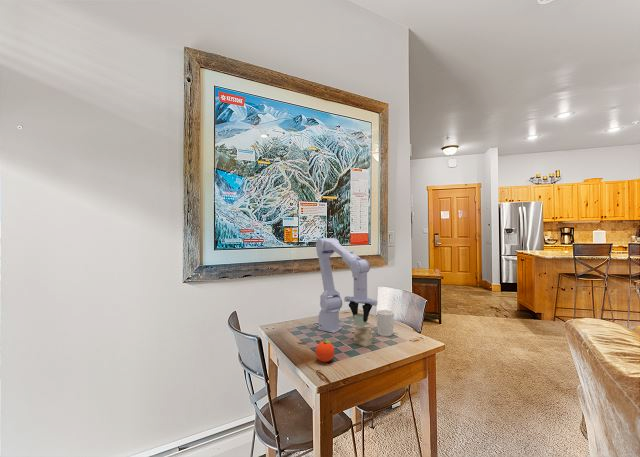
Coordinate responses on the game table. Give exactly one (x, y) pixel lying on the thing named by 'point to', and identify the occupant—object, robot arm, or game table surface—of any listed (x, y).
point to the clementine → (325, 351)
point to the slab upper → (363, 333)
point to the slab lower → (363, 341)
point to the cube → (359, 320)
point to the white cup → (385, 322)
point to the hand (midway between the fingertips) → (360, 320)
